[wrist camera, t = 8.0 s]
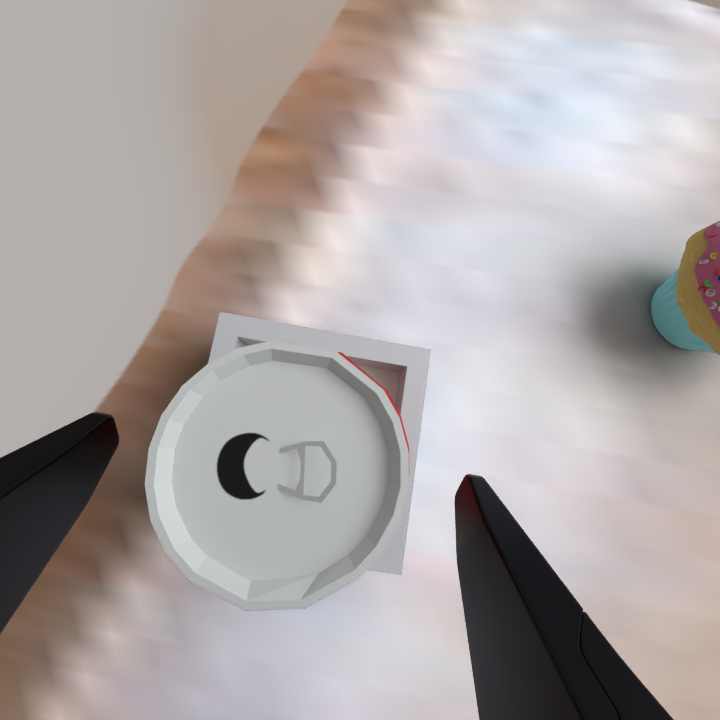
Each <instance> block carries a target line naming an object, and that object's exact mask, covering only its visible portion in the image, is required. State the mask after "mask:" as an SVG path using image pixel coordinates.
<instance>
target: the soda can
mask: <svg viewBox="0 0 720 720" xmlns="http://www.w3.org/2000/svg"><path fill="white" fill-rule="evenodd" d="M408 488H409V444H408V441H407V437H406V433H405V429H404V426H403V422H402V418H401V414H400V412H399V410H398V409H397V407H396V405H395V403H394V402H393V400H392V398H391V396H390V395H389V393H388V391H387V390H386V389H385V388H384V387H383V386H381V385H380V384H379V383H378V382H377V381H375V380H374V379H373V378H372V377H371V376H369V375H368V374H367V373H366V372H365V371H363V370H362V369H361V368H360V367H359V366H357V365H356V364H355V363H354V362H353V361H351V360H350V359H349V358H348V357H347V356H346V355H344V354H343V353H342V352H337V351H332V350H326V349H320V348H314V347H307V346H302V345H296V344H290V343H284V342H276V341H268V342H264V343H259V344H254V345H250V346H245V347H241V348H238V349H236V350H234V351H232V352H230V353H228V354H226V355H224V356H222V357H220V358H218V359H216V360H214V361H212V362H210V363H208V364H207V365H206V366H205V367H203V368H202V369H201V370H200V371H199V372H198V373H196V374H195V375H194V376H193V377H192V378H191V379H189V380H188V381H187V382H186V383H185V384H184V385H182V387H181V388H180V390H179V391H178V392H177V394H176V395H175V397H174V398H173V399H172V401H171V402H170V404H169V405H168V406H167V408H166V409H165V411H164V412H163V413H162V415H161V418H160V420H159V423H158V425H157V428H156V431H155V433H154V436H153V438H152V441H151V444H150V446H149V450H148V459H147V468H146V477H145V490H146V497H147V503H148V509H149V516H150V521H151V523H152V525H153V528H154V530H155V532H156V534H157V536H158V538H159V541H160V543H161V545H162V547H163V549H164V551H165V553H166V555H167V556H168V557H169V558H170V559H171V560H172V562H173V563H174V564H175V565H176V566H177V567H178V568H179V570H180V571H181V572H182V573H183V574H184V575H185V576H186V578H187V579H188V580H189V581H190V582H192V583H194V584H196V585H198V586H200V587H202V588H204V589H206V590H207V591H209V592H211V593H213V594H215V595H217V596H219V597H221V598H223V599H224V600H226V601H228V602H230V603H232V604H234V605H236V606H238V607H240V608H241V609H243V610H245V611H253V610H282V609H305V608H307V607H309V606H310V605H312V604H314V603H316V602H317V601H319V600H321V599H323V598H324V597H326V596H328V595H330V594H332V593H333V592H335V591H337V590H339V589H340V588H342V587H344V586H346V585H348V584H349V583H351V582H353V581H355V580H356V579H358V578H359V577H360V576H361V575H362V574H363V573H364V572H365V571H366V570H367V569H368V568H369V567H370V565H371V564H372V563H373V562H374V561H375V560H376V559H377V558H378V557H379V556H380V555H381V553H382V552H383V551H384V549H385V547H386V546H387V544H388V542H389V540H390V538H391V536H392V534H393V533H394V531H395V529H396V527H397V525H398V523H399V521H400V519H401V516H402V512H403V508H404V504H405V500H406V496H407V492H408Z"/></svg>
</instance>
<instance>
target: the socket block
mask: <svg viewBox="0 0 720 720" xmlns="http://www.w3.org/2000/svg"><path fill="white" fill-rule="evenodd" d="M268 341H276V342H284V343H290V344H296V345H302V346H307V347H314V348H320V349H326V350H332V351H337V352H342V353H343V354H344V355H346V356H347V357H348V358H349V359H350V360H351V361H353V362H354V363H355V364H356V365H357V366H359V367H360V368H361V369H362V370H363V371H365V372H366V373H367V374H368V375H369V376H371V377H372V378H373V379H374V380H375V381H377V382H378V383H379V384H380V385H381V386H383V387H384V388H385V389H386V390H387V391H388V393H389V395H390V396H391V398H392V400H393V402H394V403H395V405H396V407H397V409H398V410H399V412H400V414H401V418H402V422H403V426H404V429H405V433H406V437H407V441H408V444H409V488H408V492H407V496H406V500H405V504H404V508H403V512H402V516H401V519H400V521H399V523H398V525H397V527H396V529H395V531H394V533H393V534H392V536H391V538H390V540H389V542H388V544H387V546H386V547H385V549H384V551H383V552H382V553H381V555H380V556H379V557H378V558H377V559H376V560H375V561H374V562H373V563H372V564H371V565H370V567H369V568H368V569H367V570H371V571H378V572H385V573H391V574H398V575H401V574H402V566H403V558H404V550H405V543H406V535H407V527H408V520H409V512H410V504H411V497H412V489H413V481H414V474H415V466H416V458H417V451H418V443H419V435H420V428H421V420H422V412H423V405H424V397H425V389H426V382H427V374H428V366H429V359H430V351H431V349H425V348H420V347H414V346H408V345H403V344H397V343H391V342H386V341H380V340H375V339H369V338H363V337H358V336H352V335H346V334H341V333H335V332H330V331H324V330H318V329H313V328H307V327H302V326H296V325H290V324H285V323H279V322H273V321H268V320H262V319H257V318H251V317H245V316H240V315H234V314H228V313H223V312H220V315H219V319H218V323H217V328H216V332H215V336H214V340H213V344H212V348H211V352H210V357H209V361H208V363H210V362H212V361H214V360H216V359H218V358H220V357H222V356H224V355H226V354H228V353H230V352H232V351H234V350H236V349H238V348H241V347H245V346H250V345H254V344H259V343H264V342H268Z"/></svg>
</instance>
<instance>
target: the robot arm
mask: <svg viewBox="0 0 720 720" xmlns="http://www.w3.org/2000/svg"><path fill="white" fill-rule="evenodd" d="M118 443H119V435H118V431H117V428H116V424H115V420H114V417H113V416H112V415H110V414H105V413H99V412H94V413H91V414H89V415H86V416H84V417H83V418H81V419H78V420H76V421H74V422H72V423H70V424H68V425H66V426H64V427H62V428H60V429H58V430H56V431H54V432H52V433H50V434H48V435H46V436H44V437H42V438H40V439H38V440H36V441H34V442H32V443H30V444H28V445H26V446H24V447H22V448H20V449H18V450H16V451H14V452H12V453H9V454H7V455H5V456H4V457H1V458H0V634H1V632H2V631H3V629H4V628H5V626H6V625H7V623H8V622H9V620H10V619H11V617H12V616H13V614H14V613H15V611H16V610H17V608H18V607H19V605H20V604H21V602H22V601H23V599H24V598H25V596H26V595H27V593H28V592H29V590H30V589H31V587H32V586H33V584H34V583H35V581H36V580H37V578H38V577H39V575H40V574H41V572H42V571H43V569H44V568H45V566H46V565H47V563H48V562H49V560H50V559H51V557H52V556H53V554H54V553H55V551H56V550H57V548H58V547H59V545H60V544H61V542H62V541H63V539H64V538H65V536H66V535H67V533H68V532H69V530H70V529H71V527H72V526H73V524H74V523H75V521H76V520H77V518H78V517H79V515H80V514H81V512H82V511H83V509H84V508H85V506H86V504H87V503H88V501H89V499H90V498H91V496H92V494H93V492H94V490H95V488H96V486H97V485H98V483H99V481H100V479H101V477H102V475H103V473H104V471H105V469H106V467H107V465H108V464H109V462H110V460H111V458H112V456H113V454H114V452H115V450H116V448H117V446H118ZM455 524H456V552H457V565H458V573H459V580H460V587H461V594H462V601H463V608H464V615H465V622H466V629H467V636H468V643H469V650H470V657H471V664H472V671H473V678H474V685H475V692H476V699H477V706H478V713H479V720H673V718H672V717H671V716H670V715H669V714H668V713H667V711H666V710H665V709H664V708H663V707H662V706H661V704H660V703H659V702H658V701H657V700H656V699H655V697H654V696H653V695H652V694H651V693H650V692H649V691H648V689H647V688H646V687H645V686H644V685H643V684H642V682H641V681H640V680H639V679H638V678H637V676H636V675H635V674H634V673H633V672H632V670H631V669H630V668H629V667H628V666H627V664H626V663H625V662H624V661H623V660H622V658H621V657H620V656H619V655H618V653H617V652H616V651H615V650H614V648H613V647H612V646H611V645H610V643H609V642H608V641H607V639H606V638H605V637H604V636H603V634H602V633H601V632H600V631H599V629H598V628H597V627H596V625H595V624H594V623H593V621H592V620H591V619H590V617H589V616H588V615H587V613H586V612H583V608H582V607H581V606H580V604H579V603H578V602H577V600H576V599H575V598H574V596H573V595H572V594H571V592H570V591H569V590H568V588H567V587H566V586H565V585H564V583H563V582H562V581H561V579H560V578H559V577H558V575H557V574H556V573H555V571H554V570H553V569H552V567H551V566H550V565H549V563H548V562H547V561H546V559H545V558H544V557H543V555H542V554H541V553H540V552H539V550H538V549H537V548H536V546H535V545H534V544H533V542H532V541H531V540H530V538H529V537H528V536H527V534H526V533H525V532H524V530H523V529H522V528H521V526H520V525H519V524H518V522H517V521H516V520H515V518H514V517H513V516H512V515H511V513H510V512H509V511H508V509H507V508H506V507H505V505H504V504H503V503H502V501H501V500H500V499H499V497H498V496H497V495H496V493H495V492H494V491H493V489H492V488H491V487H490V485H489V484H488V483H487V482H486V480H485V479H484V478H483V477H481V476H477V475H471V474H467V475H466V476H465V477H464V479H463V481H462V483H461V484H460V486H459V488H458V490H457V492H456V495H455Z"/></svg>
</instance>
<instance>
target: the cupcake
mask: <svg viewBox="0 0 720 720" xmlns="http://www.w3.org/2000/svg"><path fill="white" fill-rule="evenodd" d="M651 315H652V319H653V322H654V324H655V326H656V328H657V330H658V331H659V333H660V334H661V335H662V336H663V337H664V338H665V339H666V340H667V341H668V342H670V343H671V344H673V345H675V346H677V347H679V348H682V349H686V350H700V351H708V352H714V353H717V354H719V355H720V221H719V222H717V223H714V224H712V225H710V226H708V227H706V228H704V229H702V230H700V231H698V232H697V233H695V234H694V235H692V236H691V237H690V238H689V239H688V241H687V243H686V248H685V251H684V254H683V257H682V260H681V264H680V268H679V269H678V270H677V271H676V272H675V273H674V274H673V275H672V276H671V277H670V278H669V279H668V280H666V281H665V282H664V283H663V284H662V285H660V286H659V288H658V289H657V290H656V291H655V293H654V295H653V298H652V301H651Z"/></svg>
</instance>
